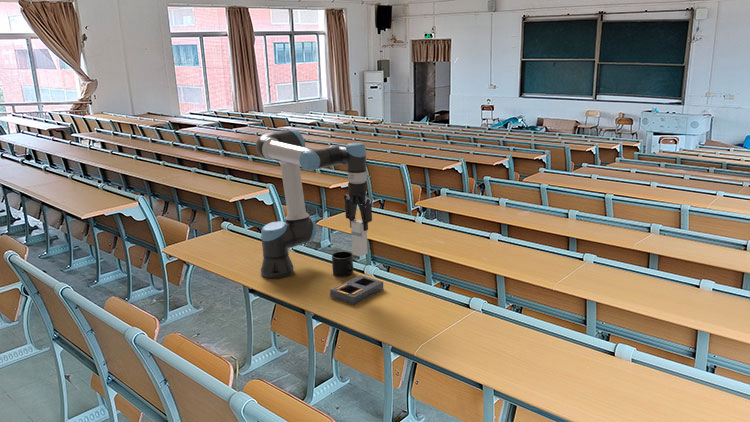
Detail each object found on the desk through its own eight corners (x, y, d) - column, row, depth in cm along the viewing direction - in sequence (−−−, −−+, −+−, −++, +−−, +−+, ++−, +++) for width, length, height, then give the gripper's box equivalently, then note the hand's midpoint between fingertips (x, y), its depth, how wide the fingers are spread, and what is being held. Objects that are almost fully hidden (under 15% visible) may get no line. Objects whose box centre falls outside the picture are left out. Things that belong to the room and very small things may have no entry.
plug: (352, 254, 230) (350, 222, 226) (359, 251, 234) (358, 219, 230) (360, 256, 227) (359, 224, 223) (367, 253, 231) (366, 221, 227)
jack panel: (330, 297, 230) (330, 288, 229) (360, 282, 244) (360, 274, 243) (354, 305, 222) (353, 296, 221) (383, 289, 236) (383, 281, 235)
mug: (344, 280, 246) (344, 261, 244) (328, 273, 255) (327, 255, 253) (361, 274, 252) (360, 256, 250) (344, 267, 261) (343, 249, 258)
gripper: (334, 180, 224) (337, 235, 231) (368, 186, 214) (370, 243, 220) (346, 177, 230) (348, 230, 236) (380, 182, 219) (381, 238, 226)
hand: (359, 236), depth 228 cm, fingers closed on plug, 5 cm apart
